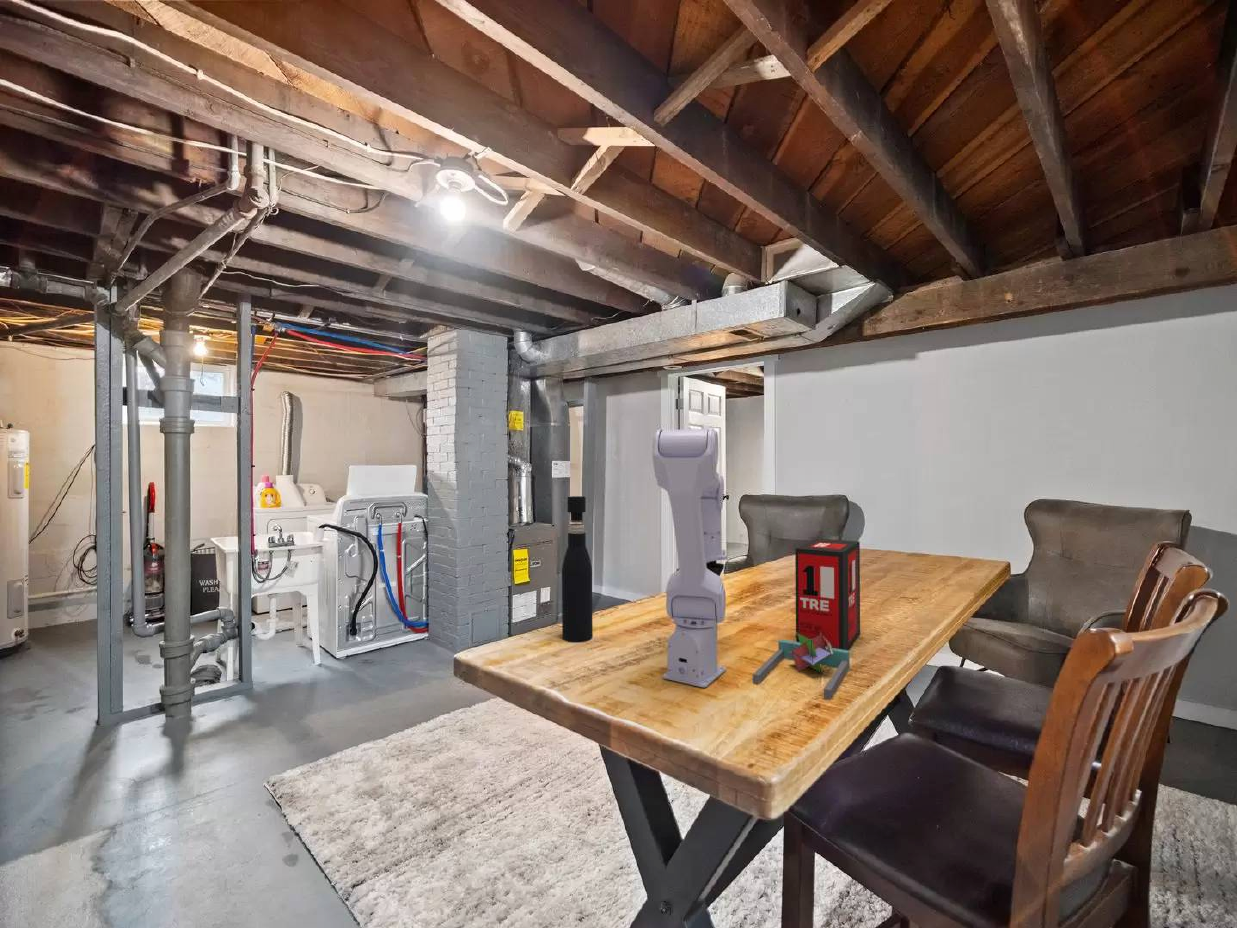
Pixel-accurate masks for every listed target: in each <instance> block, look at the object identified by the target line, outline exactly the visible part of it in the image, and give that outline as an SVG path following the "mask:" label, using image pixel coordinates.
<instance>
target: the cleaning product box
mask: <svg viewBox="0 0 1237 928" xmlns="http://www.w3.org/2000/svg"><path fill="white" fill-rule="evenodd" d="M860 543H861V542H860V541H856V540H844V539H843V540H842V539H831V538H830V539H828V538H815V539H813V540H810V541H808V542H807V543H804V544H802V545H800V546H798V547H796V548H795V550H794V551H795V552H794V553H795V554H794V555H795V567H794V568H795V569H794V570H795V635H796V637H795V642H800V641H799V638H798V635H797V633H799V634H801V635H803V636H805V637H807V638H809V639H812V638H814V637H815V636H817V635H819V634H820V633H821V634H822V635H823V636H824V637H825V638H826V639H827V640H828V641H829V643H830V644H831V646H832V648H836V649H842V650H848V651H850V650H851V648H852V647H853V645H854V644H855V643H856V642H857V640H858V638H859V637H860V636H861V562H860V560H861V558H860V557H861V556H860V555H861V554H860V553H861V548H860V547H861V546H860ZM796 632H797V633H796ZM814 633H817V634H814ZM822 635H821V636H822ZM823 636H822V639H823V641H824V644H825V647H827V645H826V644H827V642H826V640H825V639H824V638H823ZM825 642H826V643H825Z"/></svg>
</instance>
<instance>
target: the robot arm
mask: <svg viewBox="0 0 1237 928" xmlns="http://www.w3.org/2000/svg"><path fill="white" fill-rule="evenodd" d="M651 455H652V463H653V471H654V476H655V479H656V483H657V486H658V487H660V488H661V489H663V490H664V491H666V492H667V495H668V499H669V502H670V506H671V515H672V521H673V529H674V536H675V537H674V538H675V544H676V545H675V546H676V552H677V553H676V554H677V561H678V567H679V568H678V570H676V571H675V572H673V573H672V574H670V576H669V578H668V580H667V584H666V590H665V595H666V599H665V600H666V602H665V603H666V604H665V605H666V609H665V610H666V614H667V616H668V617H669V619H671V620H673V625H675V629H674V632H673V633H672V634H671V635H670V636H669V638H668V640H667V645H666V646H667V649H666V650H667V655H666V656H667V672H665V673H664V674H662V678H663V679H665V680H670V681H674V682H678V683H681V684H687V685H690V686H696V687H700V688H706V687H708V686H709V685H710V684H711V683H712V682H714V681H715V680H716V679H717V678H719V677H720V676H721V675H722V674H723V673H724V672H725V671H726V670H727V667H726V666H721V665H718V624H719V623H721V624H722V622H723V621H725V618H726V609H727V608H726V605H727V604H726V603H727V602H726V600H727V597H726V596H727V595H726V589H725V587H724V581H722V577H721V574H722V572H723V571H724V568H725V564H724V563H719V562H718V563H717V561H725V560H727V559H728V555H727V554H726V549H722V548H723V547H722V545H723V544H722V510H723V506H724V505H723V503H724V501H723V500H724V494H725V481H724V476H723V475H720V474H719V473H718V472H717V467H718V461H719V436H718V431H717V430H715V428H714V427H709V428H699V429H698V428H696V429H695V428H694V429H659V428H658V429H657V430H656V432H655V433H654V435H653V438H652V452H651Z"/></svg>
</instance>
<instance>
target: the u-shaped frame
mask: <svg viewBox="0 0 1237 928" xmlns="http://www.w3.org/2000/svg"><path fill="white" fill-rule="evenodd" d="M793 643H794V644H793ZM800 645H801V644H800V642H796V641H795V640H794V641H793V640H787V639H783V638H781V639H779V640H778V649H777V650H775V652H774V653H773V654H772V655H771V656H770V657H769V658H767V660H766V661H765V662H764V663H763V664H762V665H760V667H759V668H757V669H756V670H755V672H753V674H752V684H754V683H756V685H760V684H761V683H762V682H763V680H765V679H766V678H767V676H768V675H769V674H771V672H772V671H773V670H774V669H775V668H776V667H777V666H778V665H779V664H780V663H781V662H782V661H783V660H784V659H786V658H788V659H787V660H791V659H793V660H792V661H794V658H793V656H792V654H791V653H789V651H791V649H792V650H793V649H795V648H796V647H798V646H800ZM792 646H793V647H792ZM790 648H791V649H790ZM826 650H827V647H826ZM832 650H833V654H830V655H829V656H827V657H825V658H824V659H822V660H820V661H819V663H820V664H821V665H820V666H823V665H827V666H826V667H829V666H830V667H829V668H835V670H834V672H833V674H832V676H830V679H829V680H828V681H827V683H826V685H825V687H824V688H823V699H824V700H829V701H831V700H832V698H833V697H834V694H835V693H836V691H837V690H838V688H839V686H840V685H841V682H842V681H843V679H844V678H845V676H846V674H847V673H848V671H849V669H850V668H851V665H850V660H851V659H850V650H849V651H848V650H842V649H836V648H832ZM827 652H828V650H827ZM826 659H827V660H826ZM781 660H782V661H781ZM828 660H829V661H828ZM780 661H781V662H780ZM779 662H780V663H779ZM778 663H779V664H778ZM825 663H826V664H825ZM777 664H778V665H777ZM776 665H777V666H776ZM775 666H776V667H775ZM773 668H774V669H773ZM772 669H773V670H772ZM771 670H772V671H771ZM770 671H771V672H770ZM767 674H768V675H767ZM766 675H767V676H766ZM761 681H762V682H761ZM760 682H761V683H760ZM759 683H760V684H759Z"/></svg>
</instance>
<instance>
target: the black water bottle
mask: <svg viewBox="0 0 1237 928" xmlns="http://www.w3.org/2000/svg"><path fill="white" fill-rule="evenodd" d="M586 498H587V497H586V496H579V495H577V496H576V495H575V496H567V503H566V504H567V507H566V508H567V509H566V510H567V513H569V514H570V522H571V523H570V524H569V526H568V528H569V530H568V531H569V532H567V547H566V548H567V549H566V551H565V554H564V557H563V561H562V567H561V611H562V612H561V614H562V615H561V617H562V618H561V620H562V621H561V624H562V625H561V626H562V627H561V629H562V631H561V632H562V640H564V641H565V642H570V643H583V642H588V641H590V640H592V639H593V566H592V561H591V557H590V555H589V551H588V548H587V546H586V544H587V541H586V539H587V537H586V532H585V527H586V526H585V524H584V523H583V522H584V520H583V513H586V509H587V508H586V500H587V499H586Z"/></svg>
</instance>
